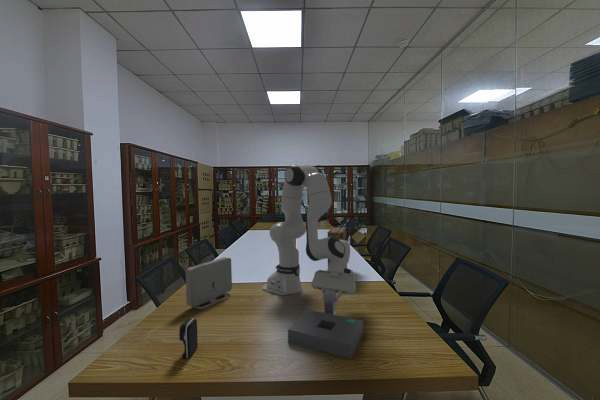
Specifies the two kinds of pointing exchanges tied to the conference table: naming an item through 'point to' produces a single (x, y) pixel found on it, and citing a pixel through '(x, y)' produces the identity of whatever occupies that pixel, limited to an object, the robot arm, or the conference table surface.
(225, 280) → the network device
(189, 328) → the battery charger
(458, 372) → the conference table surface
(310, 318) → the docking mount
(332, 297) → the peg
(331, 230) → the book
